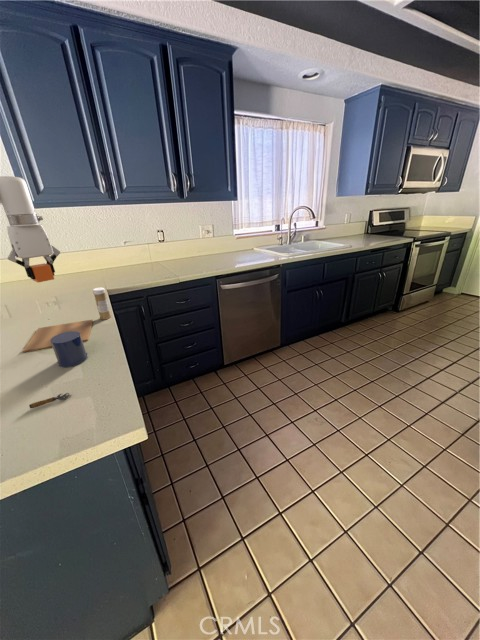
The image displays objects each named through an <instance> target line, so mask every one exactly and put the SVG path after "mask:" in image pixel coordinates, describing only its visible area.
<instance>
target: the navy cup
mask: <svg viewBox="0 0 480 640" xmlns="http://www.w3.org/2000/svg"><path fill="white" fill-rule="evenodd" d="M50 342H51V344H52V347H51V348H52V349H53V352H54V355H55V358H56V361H57V363H56V364H57V366H58V367H60V368H70V367H71V368H72V367H75V366H79V365H80V364H82V363H84V362H86V361H87V360H88V357H89V356H88V352H87V351H86V348H85V345H84V341H82V338H81V335H80V333H79V332H77V331H70V332H64V333H61V334H58V335H56V336H54V337H53V338H51V340H50Z"/></svg>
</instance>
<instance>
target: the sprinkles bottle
mask: <svg viewBox="0 0 480 640" xmlns="http://www.w3.org/2000/svg"><path fill="white" fill-rule="evenodd" d="M92 294H93V296H94V299H95V303H96V307H97V311H98V315H99V319H100V320H108V319H110V318H111V317H112V315H111V312H110V306H109V303H108V298H107V296H106V289H105V288H104V287H95V288H93V289H92Z"/></svg>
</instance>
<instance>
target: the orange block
mask: <svg viewBox="0 0 480 640" xmlns="http://www.w3.org/2000/svg"><path fill="white" fill-rule="evenodd" d="M30 267H31V268H32V270H33V273H34V276H35V279H34V280H33V279H32V281H34V282H36V283H42V282H47V281H53V280H55V277H54V276H55V275H54V276H53V273H52V270H51V267H50V265H48V264H46V263H38V264H32V265H30Z"/></svg>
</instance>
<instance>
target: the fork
mask: <svg viewBox="0 0 480 640" xmlns="http://www.w3.org/2000/svg"><path fill="white" fill-rule="evenodd" d="M71 396H72V394H70V393H69V392H66V393H64V394H62V393H59V394H58V395H56V396H52V397H50V398H47V399H42V400H39V401H36V402H32V403H30V404H29V406H28V407H29V409H34V408H38V407H41V406H43V405H46V404H49V403H52V402H55V401H57V400H58V401H64V400H66V399H68V398H70V397H71Z"/></svg>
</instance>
